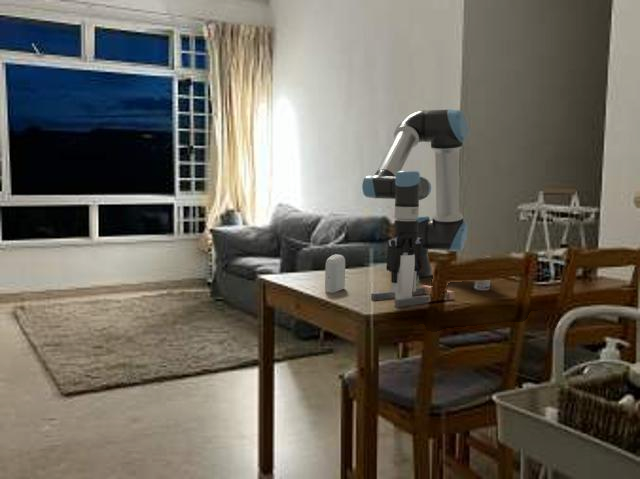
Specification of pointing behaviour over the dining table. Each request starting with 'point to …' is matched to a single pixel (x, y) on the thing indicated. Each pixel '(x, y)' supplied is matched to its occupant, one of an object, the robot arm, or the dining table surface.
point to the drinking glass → (406, 276)
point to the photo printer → (335, 273)
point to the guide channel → (410, 301)
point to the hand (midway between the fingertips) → (404, 291)
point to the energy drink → (482, 284)
